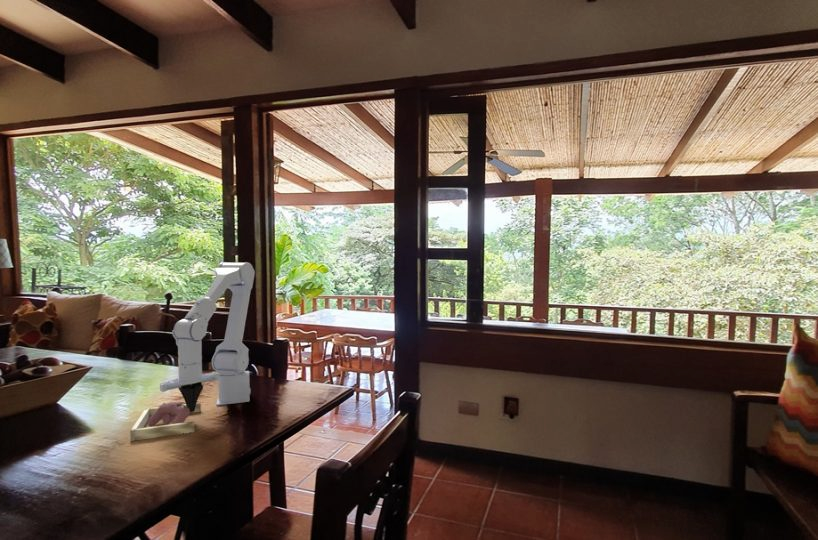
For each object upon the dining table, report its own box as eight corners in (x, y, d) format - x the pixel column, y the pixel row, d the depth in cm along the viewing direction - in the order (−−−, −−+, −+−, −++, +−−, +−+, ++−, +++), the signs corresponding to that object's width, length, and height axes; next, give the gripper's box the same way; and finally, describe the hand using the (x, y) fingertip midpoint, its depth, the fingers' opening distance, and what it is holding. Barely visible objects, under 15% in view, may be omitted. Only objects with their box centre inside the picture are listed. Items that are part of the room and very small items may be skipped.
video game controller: (185, 432, 109) (195, 405, 111) (172, 431, 105) (182, 403, 107) (159, 427, 112) (168, 401, 115) (145, 425, 108) (155, 398, 111)
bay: (200, 410, 120) (200, 402, 120) (193, 432, 105) (193, 422, 105) (145, 417, 115) (145, 408, 115) (130, 441, 100) (130, 431, 100)
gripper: (211, 355, 120) (212, 400, 120) (155, 364, 109) (156, 414, 110) (221, 359, 115) (222, 406, 115) (164, 369, 104) (165, 421, 105)
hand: (191, 411), depth 112 cm, fingers closed
